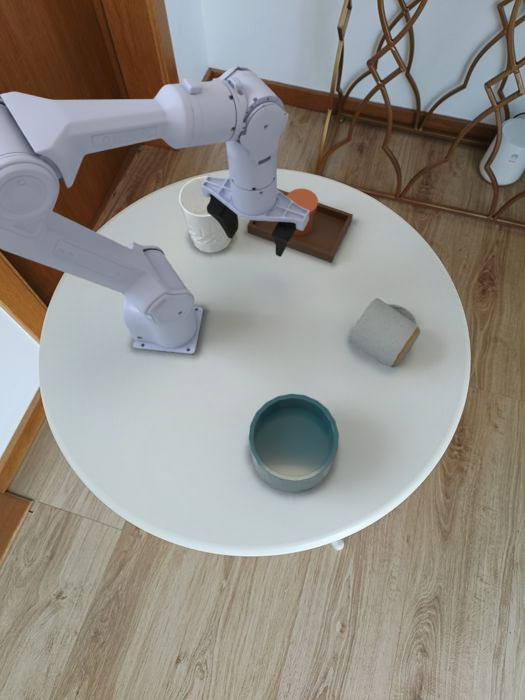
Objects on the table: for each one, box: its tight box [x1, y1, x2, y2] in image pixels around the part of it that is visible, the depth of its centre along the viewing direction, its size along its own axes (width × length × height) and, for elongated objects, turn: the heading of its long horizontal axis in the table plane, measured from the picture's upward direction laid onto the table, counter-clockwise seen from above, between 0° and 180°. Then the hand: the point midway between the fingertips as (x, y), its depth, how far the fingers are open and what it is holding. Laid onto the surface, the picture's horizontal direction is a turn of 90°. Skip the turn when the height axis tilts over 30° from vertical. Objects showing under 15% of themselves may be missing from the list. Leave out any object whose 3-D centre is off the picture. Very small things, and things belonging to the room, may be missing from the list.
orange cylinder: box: [287, 188, 319, 236], centre depth 87 cm, size 5×5×6 cm
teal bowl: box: [248, 393, 340, 493], centre depth 70 cm, size 11×11×8 cm
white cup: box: [178, 175, 232, 254], centre depth 85 cm, size 8×8×10 cm
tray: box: [246, 188, 354, 264], centre depth 89 cm, size 15×9×2 cm, turn 65°
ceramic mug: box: [347, 297, 421, 368], centre depth 78 cm, size 11×8×8 cm
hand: (256, 241), depth 77 cm, fingers open, 7 cm apart
